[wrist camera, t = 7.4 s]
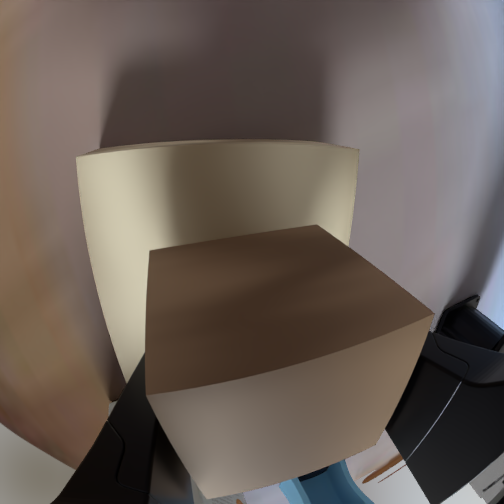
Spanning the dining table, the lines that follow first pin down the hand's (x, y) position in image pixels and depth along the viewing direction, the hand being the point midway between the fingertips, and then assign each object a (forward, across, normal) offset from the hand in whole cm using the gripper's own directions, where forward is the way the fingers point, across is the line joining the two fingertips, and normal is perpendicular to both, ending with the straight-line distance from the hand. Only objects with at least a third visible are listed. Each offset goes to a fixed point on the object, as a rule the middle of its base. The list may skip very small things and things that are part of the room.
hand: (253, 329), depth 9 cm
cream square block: (+7, 0, 0) cm, 7 cm away
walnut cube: (+1, 0, 0) cm, 1 cm away
